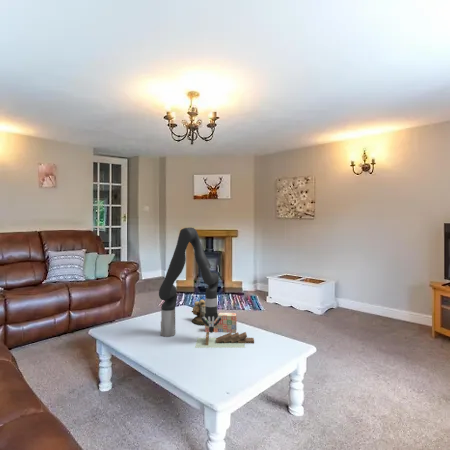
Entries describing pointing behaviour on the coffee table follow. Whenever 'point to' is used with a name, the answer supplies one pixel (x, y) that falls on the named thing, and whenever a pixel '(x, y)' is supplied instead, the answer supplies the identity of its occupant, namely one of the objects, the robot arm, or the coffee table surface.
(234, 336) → the domino
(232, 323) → the stack of blocks
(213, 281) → the robot arm
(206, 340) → the domino
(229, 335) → the domino
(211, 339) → the mat
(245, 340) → the domino
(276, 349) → the coffee table surface
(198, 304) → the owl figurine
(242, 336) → the domino
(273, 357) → the coffee table surface
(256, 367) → the coffee table surface
